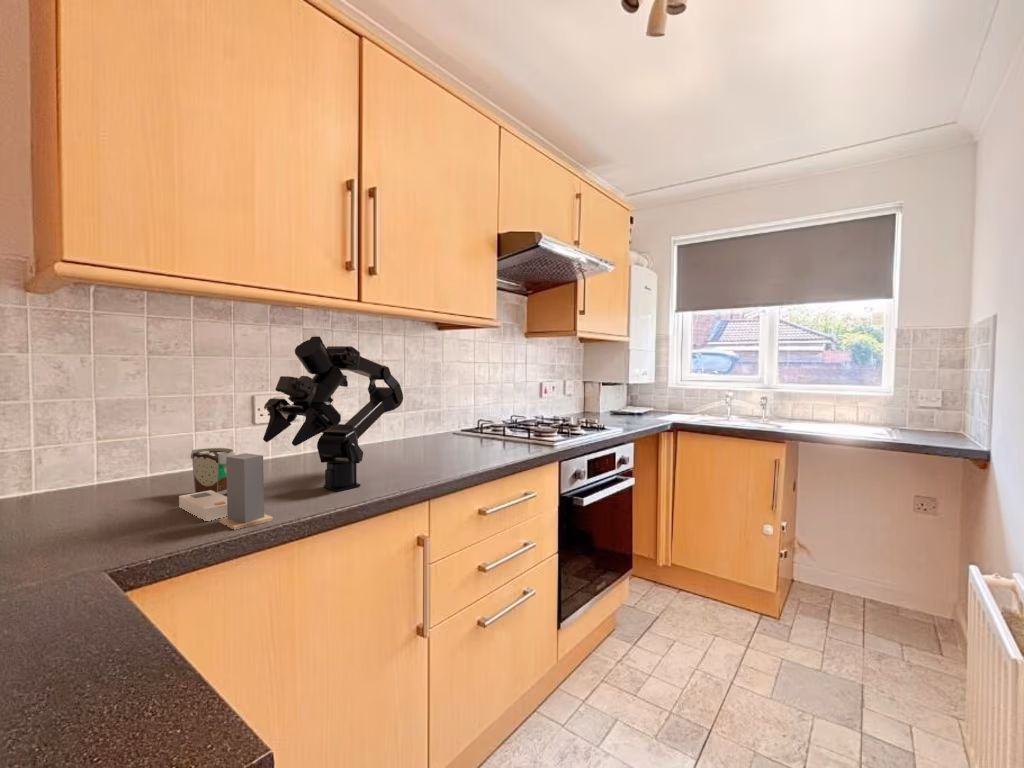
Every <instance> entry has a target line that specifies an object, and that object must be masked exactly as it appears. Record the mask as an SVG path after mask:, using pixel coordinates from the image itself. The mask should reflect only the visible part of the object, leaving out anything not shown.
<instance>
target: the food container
mask: <svg viewBox="0 0 1024 768" xmlns="http://www.w3.org/2000/svg"><path fill="white" fill-rule="evenodd" d="M234 455H236V453H235V452H234V449H232V448H228V447H227V448H226V447H212V448H211V447H210V448H207V447H206V448H199V449H191V453H190V459H191V460H192V462H191V463H192V470H193V471H192V472H193V485H194V487H193V488H194V493H198V492H204V491H209V490H212V491H214V492H217V493H219V494H221V495H224V496H226V497H227V468H226V457H228V456H234Z"/></svg>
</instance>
